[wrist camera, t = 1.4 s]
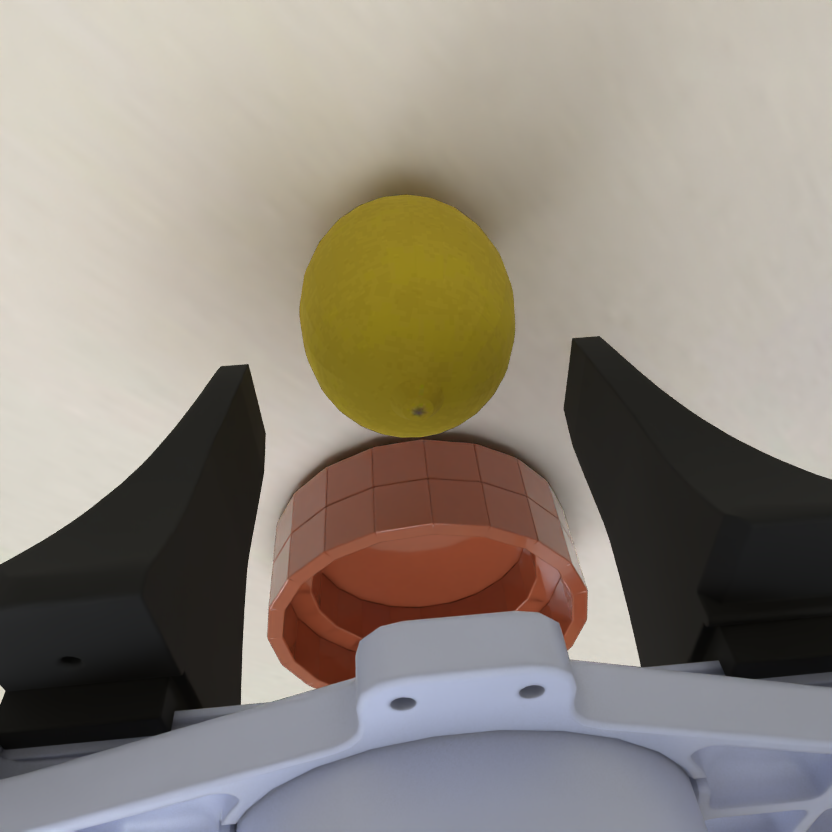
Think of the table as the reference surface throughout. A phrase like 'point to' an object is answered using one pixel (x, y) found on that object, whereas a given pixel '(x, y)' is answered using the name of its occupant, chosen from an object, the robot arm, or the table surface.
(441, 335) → the lemon
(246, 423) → the robot arm
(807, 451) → the table surface
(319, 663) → the bowl
